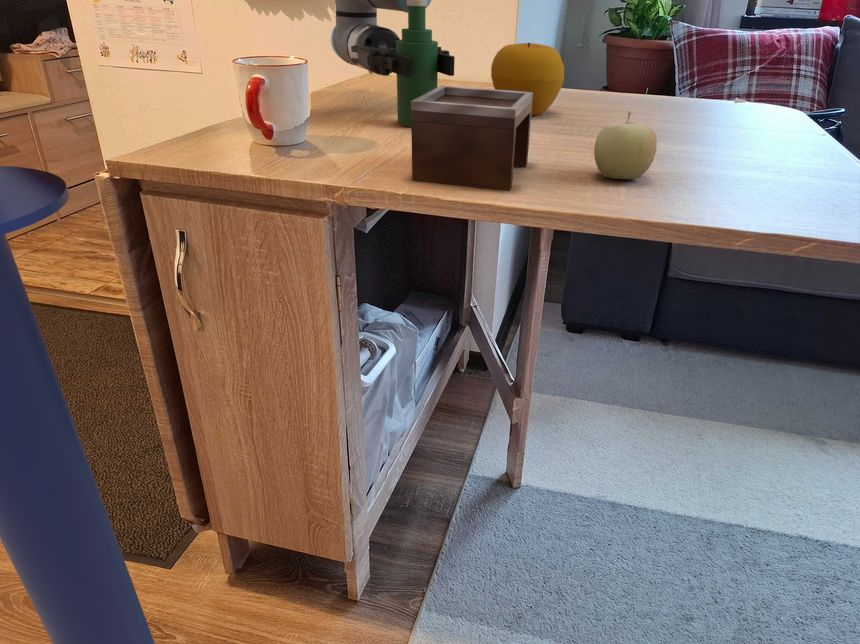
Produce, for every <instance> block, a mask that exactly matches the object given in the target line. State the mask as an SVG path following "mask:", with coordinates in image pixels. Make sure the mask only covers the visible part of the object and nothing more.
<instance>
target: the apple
mask: <svg viewBox="0 0 860 644" xmlns="http://www.w3.org/2000/svg"><path fill="white" fill-rule="evenodd" d="M490 78H491V82H492V86H493V88H494V90H507V91H520V92H533V100H532V113H531V117H532V116H538V115H539V116H540V115H542V114H544V113H546V112H547V111H548V110H549V108H550V107H551V106H552V104H554V102H555V100H556V99H557V97H558V95H559V93H560V91H561V89H562V88H563V84H564V80H565V66H564V63H563V61H562V57H561V54H560V53H559V52H558V51H557V49H556V48H555V47H551V46H549V45H546V44H540V43H536V42H535V43H534V42H522V43H511V44H506V45H504V46H503V47H502V48H500V49H499V50H498V51H497V53H496V54H495V56H494V57H493V60H492V63H491V65H490Z"/></svg>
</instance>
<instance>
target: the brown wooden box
mask: <svg viewBox="0 0 860 644" xmlns="http://www.w3.org/2000/svg"><path fill="white" fill-rule="evenodd" d="M532 100H533V92H520V91H507V90H495V88H494V89H491V88H479V87H467V86H466V87H465V86H453V85H452V86H451V85H439V86H437V88H436V89H434V90H432V91H430V92H428V93H426V94H424V95H422V96H420V97H418V98H416V99H414V100H412V101H411V127H410V128H411V129H410V130H411V133H410V134H411V181H416V182H425V183H436V184H443V185H453V186H463V187H472V188H481V189H492V190H500V191H510V192H511V190H512V188H513V181H514V180H513V178H514V167H520V168H526V167H527V166H528V162H529V161H528V160H529V150H530V149H529V147H530V137H531V125H532V124H531V123H532V116H531V113H532Z"/></svg>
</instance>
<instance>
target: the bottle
mask: <svg viewBox="0 0 860 644" xmlns="http://www.w3.org/2000/svg"><path fill="white" fill-rule="evenodd" d="M407 5H408V13H407V28H402V29H401V39H400V40H396V53H398V54H401V55H405V56H408V57H411V77H409V78H406V77H404V76H401V75H398V74H396V102H397V103H396V105H397V107H396V108H397V110H396V111H397V124H398V125H401V126H404V127H409V128H411V101H412V100H414V99H416V98H418V97H420V96H422V95H424V94H426V93H428V92H430V91H432V90H434V89H436V88H438V79H439V78H438V73H439V72H438V47H439V42H438V41H437V40H434V39H433V30H432V29H431V28H426V9H425V6H427V0H407Z"/></svg>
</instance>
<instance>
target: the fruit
mask: <svg viewBox="0 0 860 644" xmlns="http://www.w3.org/2000/svg"><path fill="white" fill-rule="evenodd" d="M631 115H632V111H628V112H627V120H621V121H615V122H610V123H608V124H606V125H605V126H604V127H602V128H601V129H600V131H599V133H598V135H597V136H596V139H595V143H594V150H593V153H594V155H593V157H594V161H595V165H596V168H597V169H598V171H599V172H600V173H601V174H602V175H603V176H605V177H606V178H609V179H614V180H615V179H616V180H621V179H622V180H632V179H638V178H641V177H642V176H644V175H645V174H646V172H647V171H648V170H649V169H650V168H651V166H652V164H653V162H654V160H655V156H656V153H657V149H658V147H657V145H658V140H657V136H656V133H655V131H654V129H653V128H652V127H651V126H650V125H649V124H647V123H643V122H640V121H638V120H637V121H636V120H630V116H631Z"/></svg>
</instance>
